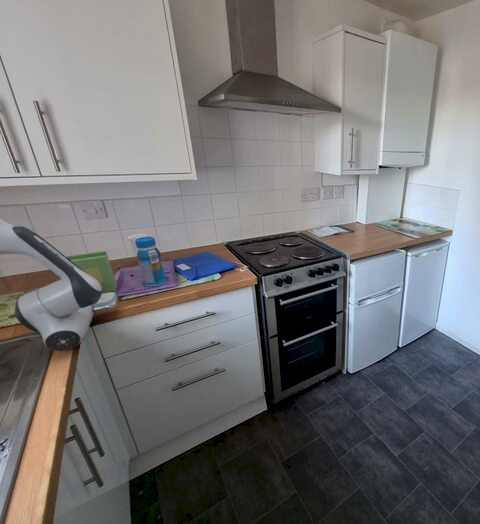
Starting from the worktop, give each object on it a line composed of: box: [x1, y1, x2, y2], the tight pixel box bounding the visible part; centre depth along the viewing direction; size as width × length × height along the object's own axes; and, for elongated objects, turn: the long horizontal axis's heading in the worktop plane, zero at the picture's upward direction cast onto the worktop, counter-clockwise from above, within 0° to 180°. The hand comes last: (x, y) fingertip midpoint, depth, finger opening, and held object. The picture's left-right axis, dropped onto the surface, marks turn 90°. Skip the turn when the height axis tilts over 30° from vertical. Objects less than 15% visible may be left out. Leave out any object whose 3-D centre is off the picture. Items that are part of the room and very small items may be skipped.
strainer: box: [127, 233, 147, 256], centre depth 148 cm, size 7×7×15 cm
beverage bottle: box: [134, 236, 167, 288], centre depth 125 cm, size 8×8×20 cm
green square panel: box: [65, 250, 118, 294], centre depth 117 cm, size 14×5×16 cm, turn 122°
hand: (82, 296), depth 105 cm, fingers open, 8 cm apart
